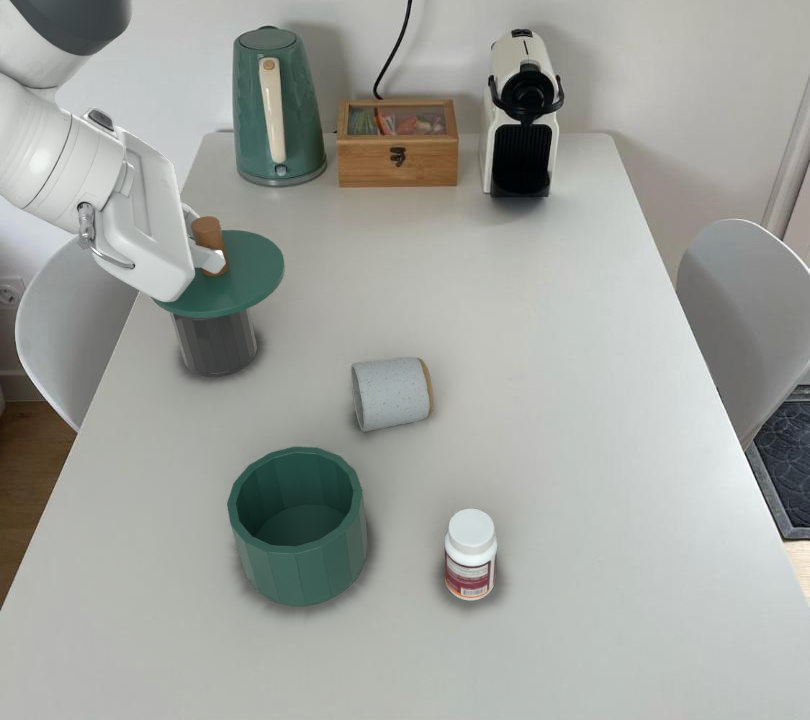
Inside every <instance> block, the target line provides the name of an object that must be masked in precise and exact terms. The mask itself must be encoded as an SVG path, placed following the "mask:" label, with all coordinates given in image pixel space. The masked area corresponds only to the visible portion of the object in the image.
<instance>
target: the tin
mask: <svg viewBox="0 0 810 720" xmlns="http://www.w3.org/2000/svg"><path fill="white" fill-rule="evenodd" d="M227 499H228V500H227V501H226V507H227V512H228V518H229V524H230V527H231V531H232V533H233V537H234V540H235V544H236V547H237V551H238V554H239V557H240V561H241V564H242V567H243V571H244V574H245V576H246V578H247V579H248V581H249V582H250V584H251V585H252V587H253V588H254V589H255V590H256V591H257V592H258V593H259V594H261V595H262V597H265V598H266V599H268V600H269V601H272V602H274V603H277V604H280V605H283V606H284V605H285V606H291V607H306V606H313V605H318V604H321V603H323V602H327V601H329V600H331V599H333V598H335V597H337V596H339V595H340V594H341V593H343V592H344V591H345V590H347V589H348V588H349V587H350V586H351V585H352V584H353V583H354V582H355V581H356V579H357V578H358V577H359V576H360V573H361V572H362V570H363V568H364V566H365V562H366V559H367V556H368V555H367V553H368V543H369V537H368V530H367V521H366V512H365V503H364V502H365V501H364V493H363V488H362V485H361V482H360V479H359V476H358V473H357V471H356V469H354V467H353V466H351V465H350V464H349V463H348V462H347V461H346V460H345V459H344V458H343V457H342V456H341V455H339V454H336V453H334V452H331V451H329V450H326V449H323V448H321V447H313V446H312V447H311V446H291V447H287V448H283V449H279V450H275V451H274V450H273V451H270V452H269V453H267V454H265V455H264V456H262V457H260V458H259V459H257V460H255V461H254V462H252V463H250V464H249V465H248V466H247V467H246V468H244V470H243V471H242V472H241V474H240V475H239V476H238V477H237V478H236V480H235V481H234V482H233V484H232V487H231V490H230V493H229V496H228V498H227Z"/></svg>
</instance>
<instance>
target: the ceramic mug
mask: <svg viewBox="0 0 810 720" xmlns="http://www.w3.org/2000/svg"><path fill="white" fill-rule="evenodd" d="M350 382H351V390H352V397H353V398H352V399H353V404H354V409H355V410H354V411H355V414H356V419H357V422H358V425H359V426H358V427H359V428H360V430H361V431H362V432H363V433H366V432H371V431H375V430H381V429H385V428H391V427H395V426H399V425H406V424H410V423H417V422H420V421H422V420H426V419H427V418H428V417H430V416H431V414H432V412H433V411H434V390H433V384H432V378H431V375H430V371H429V368H428V365H427V364H426V362H425V361H424V360H423V359H422V358H420V357H417V356H401V357H394V358H386V359H378V360H367V361H358V362H354V363H352V364H351V367H350Z"/></svg>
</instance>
